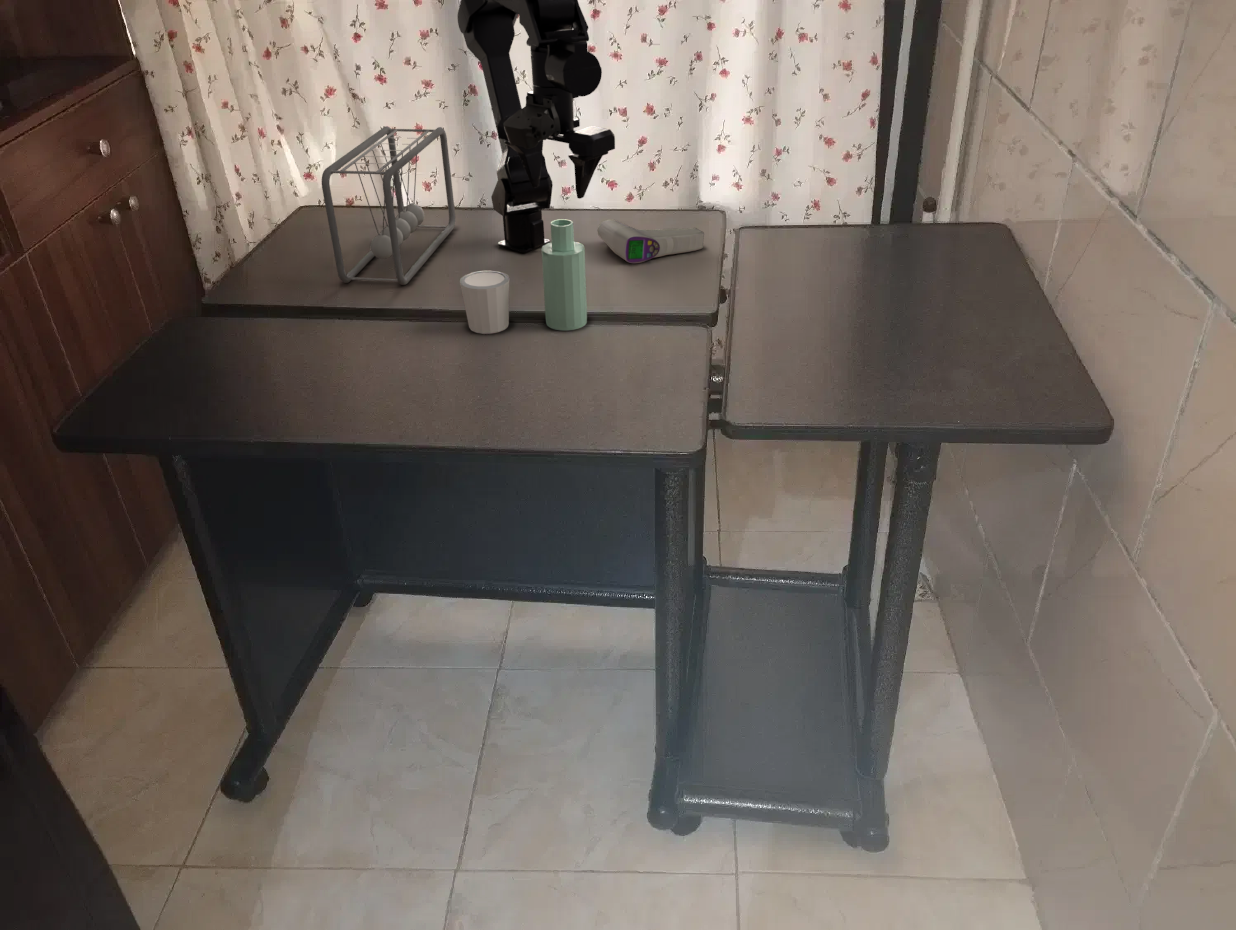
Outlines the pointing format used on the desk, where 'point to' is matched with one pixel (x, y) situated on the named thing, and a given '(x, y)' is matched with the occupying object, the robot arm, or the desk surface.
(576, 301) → the water bottle
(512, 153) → the robot arm
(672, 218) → the desk surface
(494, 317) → the shot glass
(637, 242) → the infrared thermometer
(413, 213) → the newton's cradle
